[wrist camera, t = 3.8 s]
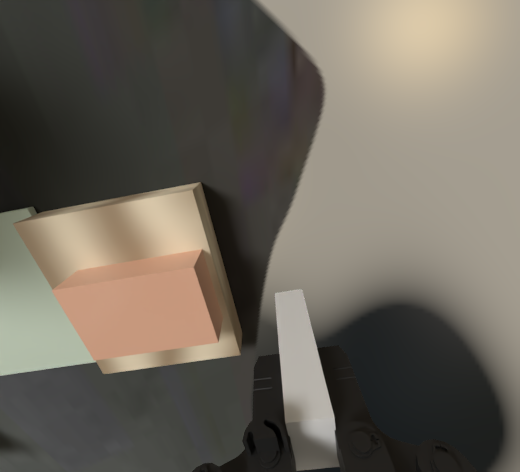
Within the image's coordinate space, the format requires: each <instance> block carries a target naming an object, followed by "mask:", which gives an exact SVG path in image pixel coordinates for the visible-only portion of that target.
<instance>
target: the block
mask: <svg viewBox="0 0 520 472" xmlns="http://www.w3.org/2000/svg"><path fill="white" fill-rule="evenodd" d="M52 292H53V294H54V296H55V297H56V299H57V300H58V302H59V304H60V305H61V307H62V309H63V310H64V312H65V314H66V315H67V317H68V318H69V320H70V322H71V323H72V325H73V327H74V328H75V330H76V332H77V333H78V335H79V337H80V338H81V340H82V341H83V343H84V345H85V346H86V348H87V350H88V351H89V353H90V355H91V356H92V358H93V360H94V361H95V360H102V359H109V358H115V357H122V356H129V355H136V354H143V353H150V352H157V351H164V350H171V349H178V348H185V347H192V346H199V345H205V344H212V343H219V338H220V332H221V327H222V321H223V316H222V313H221V310H220V306H219V303H218V300H217V297H216V293H215V290H214V287H213V283H212V280H211V277H210V274H209V270H208V267H207V264H206V260H205V257H204V254H203V251H202V249H200V250H194V251H188V252H182V253H176V254H170V255H164V256H159V257H153V258H147V259H141V260H135V261H129V262H123V263H117V264H112V265H106V266H100V267H94V268H88V269H82V270H77V271H76V272H75V273H73V274H72V275H71V276H69V277H68V278H67V279H66V280H64V281H63V282H62V283H61V284H59V285H58V286H57V287H55V288H54V289H53V290H52Z"/></svg>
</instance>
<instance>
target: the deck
mask: <svg viewBox="0 0 520 472" xmlns="http://www.w3.org/2000/svg"><path fill="white" fill-rule="evenodd" d="M13 225H14V227H15V228H16V230H17V232H18V233H19V235H20V237H21V238H22V240H23V242H24V243H25V245H26V247H27V248H28V250H29V252H30V253H31V255H32V257H33V258H34V260H35V261H36V263H37V265H38V266H39V268H40V270H41V271H42V273H43V275H44V276H45V278H46V280H47V281H48V283H49V285H50V286H51V288H52V290H53V289H54V288H55V287H57V286H58V285H59V284H61V283H62V282H63V281H64V280H66V279H67V278H68V277H69V276H71V275H72V274H73V273H75V272H76V271H77V270H82V269H88V268H94V267H100V266H106V265H112V264H117V263H123V262H129V261H135V260H141V259H147V258H153V257H159V256H164V255H170V254H176V253H182V252H188V251H194V250H200V249H202V251H203V254H204V257H205V260H206V264H207V267H208V270H209V274H210V277H211V280H212V283H213V287H214V290H215V293H216V297H217V300H218V303H219V306H220V310H221V313H222V316H223V321H222V327H221V332H220V338H219V343H212V344H205V345H199V346H192V347H185V348H178V349H171V350H164V351H157V352H150V353H143V354H136V355H129V356H122V357H115V358H109V359H102V360H96V362H97V364H98V365H99V367H100V369H101V370H102V372H103V374H108V373H115V372H122V371H129V370H137V369H144V368H151V367H158V366H165V365H172V364H179V363H187V362H194V361H201V360H208V359H215V358H222V357H229V356H236V355H240V354H241V342H242V330H241V326H240V323H239V319H238V315H237V312H236V308H235V304H234V301H233V297H232V293H231V290H230V286H229V282H228V279H227V275H226V272H225V268H224V264H223V261H222V257H221V253H220V250H219V246H218V242H217V239H216V235H215V231H214V228H213V224H212V221H211V217H210V213H209V210H208V206H207V202H206V199H205V195H204V191H203V188H202V184H201V182H199V183H194V184H188V185H183V186H178V187H172V188H167V189H162V190H156V191H151V192H146V193H140V194H135V195H130V196H124V197H119V198H114V199H109V200H103V201H98V202H93V203H87V204H82V205H77V206H71V207H66V208H61V209H55V210H50V211H45V212H41V213H39V214H36V215H34V216H31V217H28V218H26V219H23V220H21V221H18V222H15V223H13Z"/></svg>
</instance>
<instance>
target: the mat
mask: <svg viewBox="0 0 520 472" xmlns="http://www.w3.org/2000/svg"><path fill="white" fill-rule="evenodd" d="M36 214H37V213H36V211H35V209H34V207H28V208H23V209H18V210H12V211H7V212H2V213H0V376H1V375H8V374H15V373H22V372H29V371H36V370H43V369H50V368H57V367H64V366H71V365H78V364H85V363H92V362H96V360H95V361H94V360H93V358H92V356H91V355H90V353H89V351H88V350H87V348H86V346H85V345H84V343H83V341H82V340H81V338H80V337H79V335H78V333H77V332H76V330H75V328H74V327H73V325H72V323H71V322H70V320H69V318H68V317H67V315H66V314H65V312H64V310H63V309H62V307H61V305H60V304H59V302H58V300H57V299H56V297H55V296H54V294H53V292H52V288H51V286H50V285H49V283H48V281H47V280H46V278H45V276H44V275H43V273H42V271H41V270H40V268H39V266H38V265H37V263H36V261H35V260H34V258H33V257H32V255H31V253H30V252H29V250H28V248H27V247H26V245H25V243H24V242H23V240H22V238H21V237H20V235H19V233H18V232H17V230H16V228H15V227H14V225H13V223H15V222H18V221H21V220H23V219H26V218H28V217H31V216H34V215H36Z"/></svg>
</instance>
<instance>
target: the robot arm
mask: <svg viewBox="0 0 520 472" xmlns="http://www.w3.org/2000/svg"><path fill="white" fill-rule="evenodd" d="M275 305H276V317H277V328H278V340H279V351H280V352H279V353H280V354H274V355H268V356H260V357H259V358H258V360H257V362H256V364H255V367H254V392H253V421H252V422H251V423H249V425H248V427H247V428H246V430H245V432H244V437H243V444H244V447H245V450H244V451H243V452H242V453H241V454H240V455H239V456H238V457H236V458H235V459H233V460H231V461H229V462H227V463H225V464H223V465H222V466H220V467H218V466H216V465H215V464H213V463H204V464H202V465H200V466H198V467H197V468H195V469H194V470H193V471H192V472H296V471H299V470H310V469H319V468H329V467H340V470H341V472H477V471H476V469H475V468H474V467H473V466H472V465H471V464H470V462H469V461H468V460H467V459H466V458H465V457H464V456H463V455H462V454H461V453H460V452H459V451H458V450H457V449H456V448H454V447H452V446H451V445H449V444H447V443H445V442H443V441H439V440H434V439H433V440H427V441H424V442H423V443H422V444H421V445H420V446H417V445H412V444H409V443H405V442H401V441H398V440H395V439H392V438H390V437H389V436H387V435H385V434H384V433H383V432H382V431H380V430H379V429H378V428H377V426H376V425H375V424H374V422H373V421H372V419H371V417H370V414H369V412H368V409H367V406H366V404H365V401H364V399H363V396H362V393H361V391H360V388H359V386H358V383H357V380H356V378H355V375H354V372H353V369H352V367H351V364H350V362H349V359H348V356H347V354H346V353H345V352H344V351H343V350H342V349H341V348H340V347H339V346H330V347H322V348H317V347H316V343H315V339H314V335H313V331H312V328H311V323H310V319H309V315H308V311H307V307H306V304H305V299H304V295H303V291H302V289H298V290H292V291H285V292H278V293H275Z"/></svg>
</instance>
